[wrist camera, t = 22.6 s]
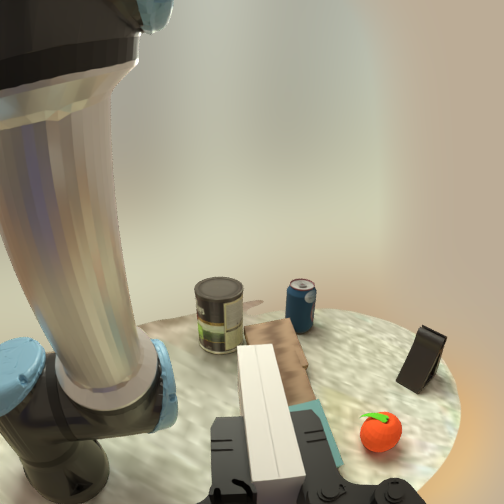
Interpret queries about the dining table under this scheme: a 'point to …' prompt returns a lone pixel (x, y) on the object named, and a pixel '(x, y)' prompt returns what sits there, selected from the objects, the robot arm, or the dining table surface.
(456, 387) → the dining table surface
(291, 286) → the soda can
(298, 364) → the walnut domino
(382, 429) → the clementine
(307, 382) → the walnut domino
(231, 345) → the coffee can
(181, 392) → the dining table surface
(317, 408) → the teal domino
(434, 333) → the phone stand
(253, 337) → the walnut domino
